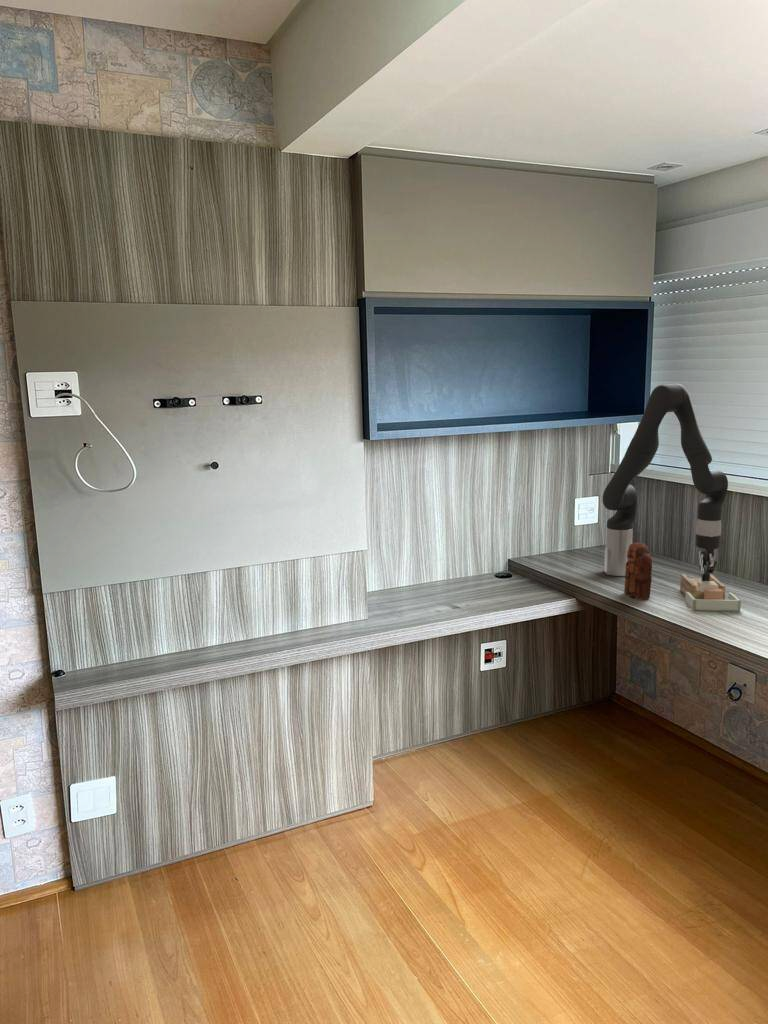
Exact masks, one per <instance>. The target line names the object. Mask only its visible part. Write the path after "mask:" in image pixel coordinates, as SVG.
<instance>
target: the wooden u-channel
mask: <svg viewBox="0 0 768 1024" xmlns="http://www.w3.org/2000/svg"><path fill="white" fill-rule="evenodd" d="M698 581H701V578H693V577H691V578H690V577H688V575H686V574H685V573H680V585H679V586H680V587H679V590H680V591H681V593H683V594H684V596H685V595H686V592H689V593H690V594H691V595H692V596H693V597H694V598H695V599H704V592H701V591H700V590H699V589H698V588H697V584H698ZM710 581H714V582H715V583H716V584H717V585H718V589H721V590H722V591H723V600H726V599H725V598H726V585H724V583H722V582H721V581H720V580H719V579H718V578H717V577H715V576H714V575H713V574H710Z"/></svg>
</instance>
